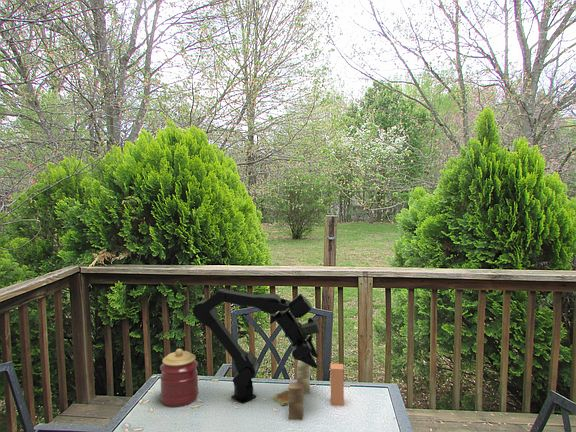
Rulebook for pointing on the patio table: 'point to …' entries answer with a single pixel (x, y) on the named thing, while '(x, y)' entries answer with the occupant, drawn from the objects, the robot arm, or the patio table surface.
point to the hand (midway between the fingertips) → (316, 362)
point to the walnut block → (296, 401)
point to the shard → (282, 398)
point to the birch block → (303, 375)
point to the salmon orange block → (337, 384)
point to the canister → (179, 379)
